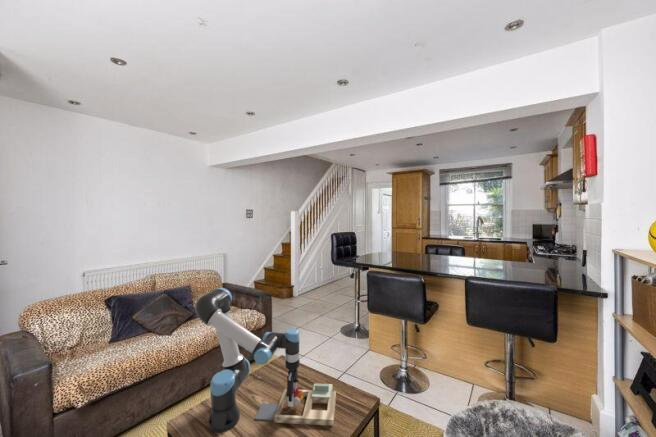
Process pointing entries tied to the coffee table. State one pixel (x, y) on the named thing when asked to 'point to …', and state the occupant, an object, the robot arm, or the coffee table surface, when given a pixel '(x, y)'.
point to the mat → (266, 412)
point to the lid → (321, 391)
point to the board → (309, 410)
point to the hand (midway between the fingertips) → (292, 399)
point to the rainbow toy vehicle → (296, 396)
